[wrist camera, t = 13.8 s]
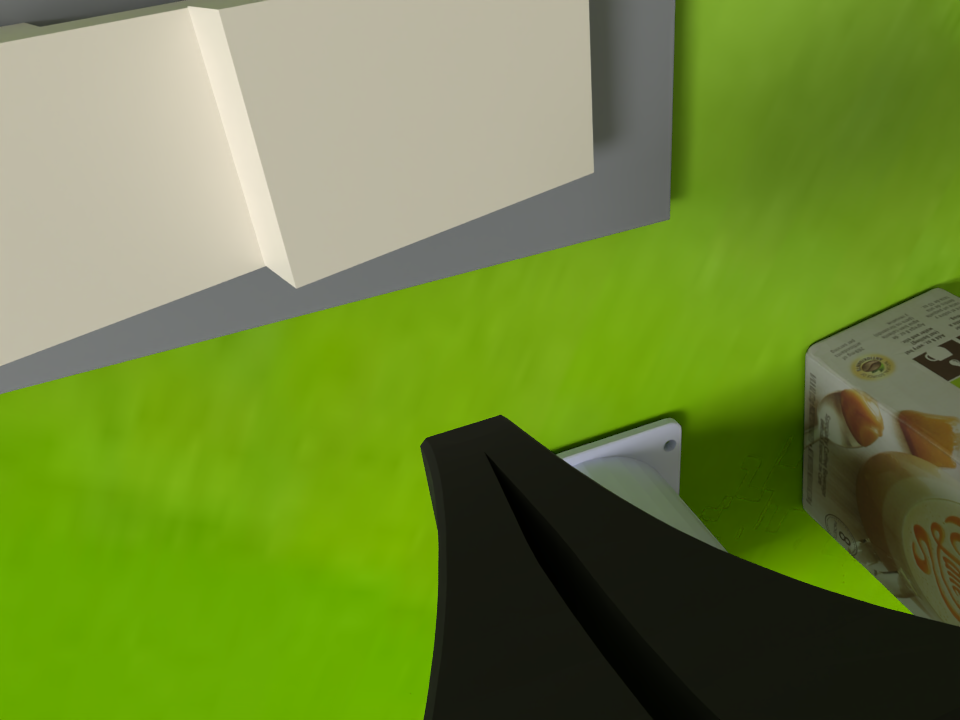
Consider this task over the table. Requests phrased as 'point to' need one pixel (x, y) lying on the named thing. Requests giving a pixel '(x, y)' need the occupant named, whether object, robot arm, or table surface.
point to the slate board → (470, 246)
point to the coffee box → (891, 448)
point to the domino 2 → (393, 116)
